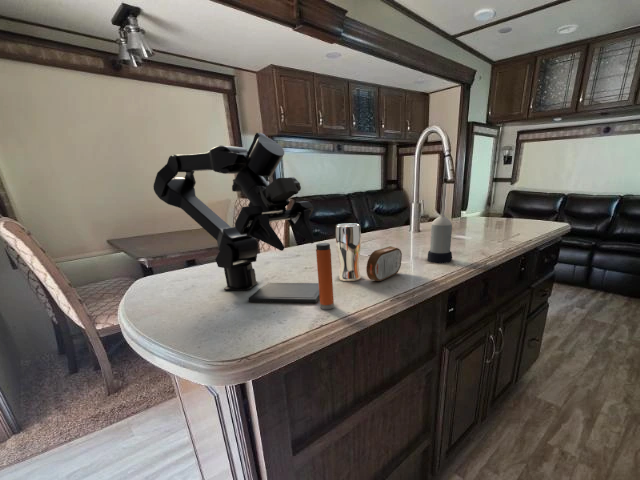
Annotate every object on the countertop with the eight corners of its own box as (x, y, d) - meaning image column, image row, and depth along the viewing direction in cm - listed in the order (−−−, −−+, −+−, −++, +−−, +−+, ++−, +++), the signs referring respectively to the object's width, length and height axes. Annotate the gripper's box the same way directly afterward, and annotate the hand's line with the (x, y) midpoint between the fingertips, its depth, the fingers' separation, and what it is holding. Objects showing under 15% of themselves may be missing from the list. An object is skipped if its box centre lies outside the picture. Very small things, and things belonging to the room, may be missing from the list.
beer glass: (363, 275, 93) (362, 223, 88) (360, 282, 87) (359, 226, 82) (340, 274, 94) (337, 223, 89) (335, 281, 88) (332, 226, 82)
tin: (394, 270, 97) (394, 243, 94) (403, 272, 95) (404, 244, 92) (365, 283, 86) (364, 252, 83) (375, 285, 84) (374, 254, 81)
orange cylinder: (318, 309, 69) (314, 245, 64) (322, 304, 72) (317, 242, 67) (332, 309, 69) (328, 245, 64) (335, 304, 71) (331, 242, 66)
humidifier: (455, 259, 109) (462, 182, 100) (445, 264, 103) (451, 183, 94) (434, 256, 114) (438, 182, 105) (423, 261, 108) (426, 183, 99)
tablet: (248, 302, 74) (248, 297, 73) (268, 286, 85) (267, 282, 84) (316, 303, 72) (315, 298, 72) (326, 286, 83) (326, 282, 83)
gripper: (233, 162, 59) (281, 226, 57) (304, 164, 73) (344, 215, 71) (216, 205, 65) (259, 263, 64) (284, 199, 80) (320, 247, 78)
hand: (299, 245), depth 69 cm, fingers open, 9 cm apart
